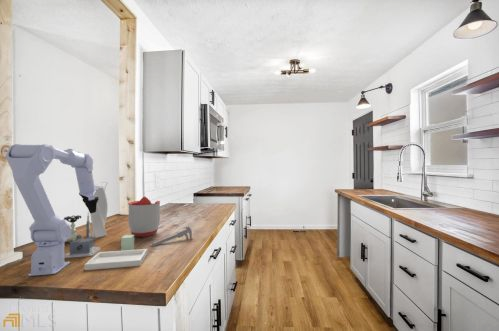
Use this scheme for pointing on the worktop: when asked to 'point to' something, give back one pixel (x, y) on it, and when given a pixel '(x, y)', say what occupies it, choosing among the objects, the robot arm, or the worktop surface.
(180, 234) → the caliper
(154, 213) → the citrus juicer
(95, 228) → the twisted vase
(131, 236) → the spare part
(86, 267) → the parts tray
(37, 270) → the robot arm
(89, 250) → the mounted unit
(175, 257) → the worktop surface
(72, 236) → the valve
